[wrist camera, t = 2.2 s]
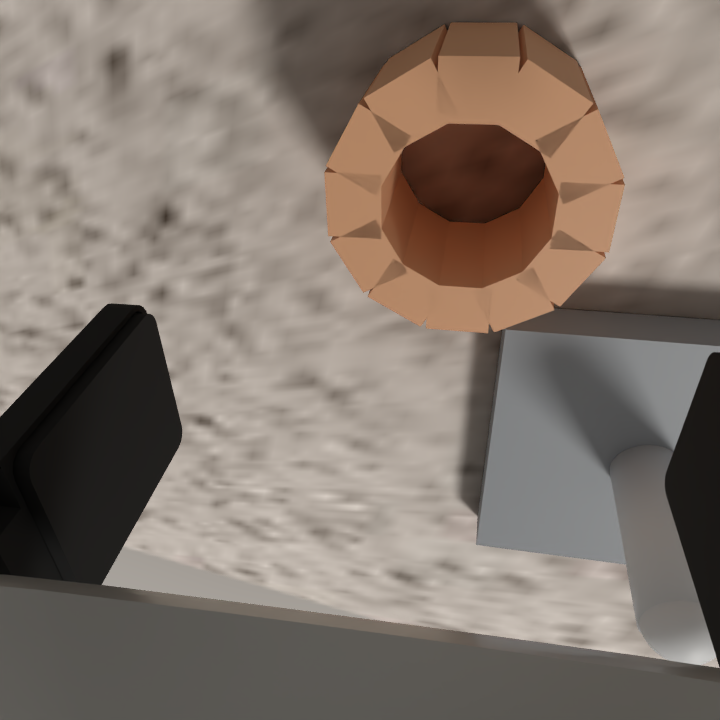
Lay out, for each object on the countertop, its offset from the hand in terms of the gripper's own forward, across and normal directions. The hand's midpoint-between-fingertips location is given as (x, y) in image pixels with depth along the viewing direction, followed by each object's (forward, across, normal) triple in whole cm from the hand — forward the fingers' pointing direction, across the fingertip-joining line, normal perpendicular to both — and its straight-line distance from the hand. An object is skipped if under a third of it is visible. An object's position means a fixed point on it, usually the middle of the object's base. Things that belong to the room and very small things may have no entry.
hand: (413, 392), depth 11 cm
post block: (+10, -8, +10) cm, 16 cm away
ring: (+10, -1, -1) cm, 10 cm away
